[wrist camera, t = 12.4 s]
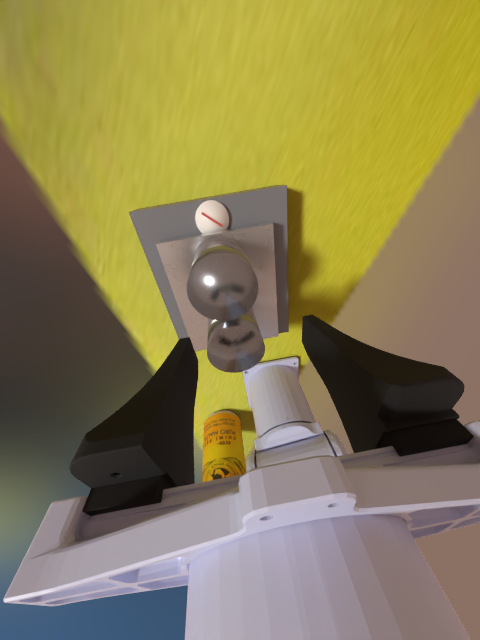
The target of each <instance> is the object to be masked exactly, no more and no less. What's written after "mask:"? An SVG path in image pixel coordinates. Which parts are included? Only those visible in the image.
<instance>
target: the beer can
mask: <svg viewBox="0 0 480 640" xmlns="http://www.w3.org/2000/svg"><path fill="white" fill-rule="evenodd" d="M244 473H246V465H245V457H244V448H243V440H242V431H241V423H240V419H239V417H238V416H236V414H235V413H233V412H231V411H228V410H220V411H216V412H214V413H212V414H210V415H209V417H208V418H207V419H206V421H205V423H204V443H203V474H202V475H203V476H202V482H206V481H211V480H216V479H222V478H227V477H232V476H237V475H243V474H244Z"/></svg>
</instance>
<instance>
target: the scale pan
mask: <svg viewBox="0 0 480 640" xmlns="http://www.w3.org/2000/svg"><path fill="white" fill-rule="evenodd" d="M215 237H226V238H230V239H232V240H234V241H236V242H237V243H238V244H239V245H240V246H241V247H242V248H243V249H244V251H245V253H246V255H247V257H248V259H249V262H250V264H251V266H252V268H253V271H254V273H255V275H256V278H257V281H258V295H257V298H256V301H255V303H254V304H253V306H252V308H253V311H254V314H255V317H256V320H257V323H258V326H259V330H260V333H261V336H262V339H265V338H271V337H276V336H278V316H277V295H276V273H275V251H274V230H273V223H271V222H269V223H263V224H257V225H252V226H246V227H240V228H234V229H229V230H223V231H217V232H211V233H206V234H200V235H194V236H188V237H182V238H177V239H171V240H165V241H159V242H157V243H156V246H157V249H158V252H159V255H160V258H161V260H162V263H163V266H164V269H165V272H166V274H167V277H168V280H169V283H170V285H171V288H172V291H173V294H174V297H175V299H176V302H177V305H178V308H179V311H180V313H181V316H182V319H183V322H184V325H185V327H186V330H187V333H188V336H189V337H190V339H191V342H192V345H193V348H194V351H199V350H205V349H207V339H208V318H207V317H205V316H203V315H201V314H200V313H199V312H198V311H197V310H196V309H195V308H194V307H193V306H192V304H191V303H190V301H189V298H188V295H187V281H188V277H189V274H190V270H191V267H192V264H193V260H194V257H195V254H196V252H197V250H198V248H199V247H200V246H201V245H202V244H203V243H204V242H205V241H207V240H209V239H211V238H215Z"/></svg>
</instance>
